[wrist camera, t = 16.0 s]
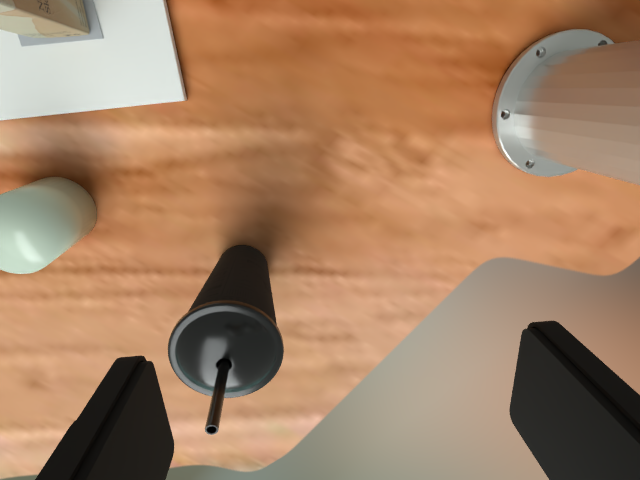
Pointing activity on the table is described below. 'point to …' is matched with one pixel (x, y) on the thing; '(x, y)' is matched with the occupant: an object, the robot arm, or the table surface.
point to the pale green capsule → (42, 222)
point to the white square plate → (93, 63)
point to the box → (44, 18)
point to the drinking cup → (229, 333)
